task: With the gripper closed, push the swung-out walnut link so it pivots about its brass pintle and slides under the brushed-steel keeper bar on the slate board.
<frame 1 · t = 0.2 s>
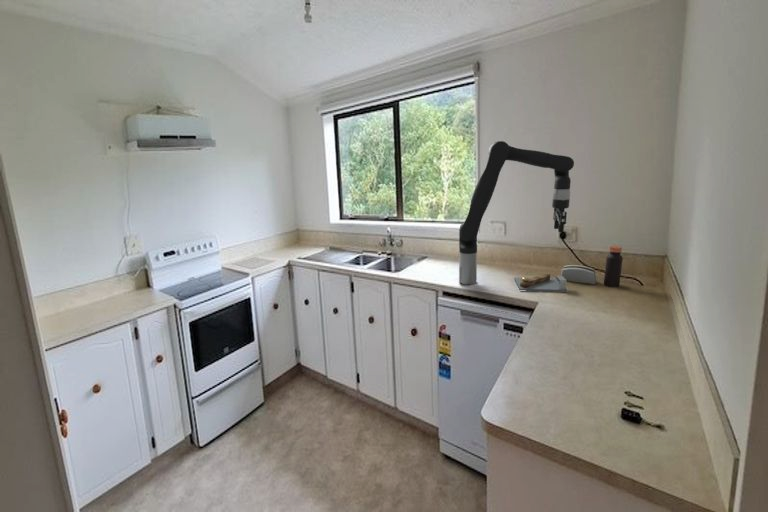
hand: (558, 230, 185), 28 cm above the worktop, fingers open, 8 cm apart
board: (538, 285, 190), on the worktop
link: (535, 280, 190), point 3 cm above the worktop, hinge at 40.0°
keeper: (561, 291, 181), resting on board
bottle: (611, 285, 186), on the worktop
pintle: (524, 288, 187), resting on board
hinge: (577, 281, 194), on the worktop
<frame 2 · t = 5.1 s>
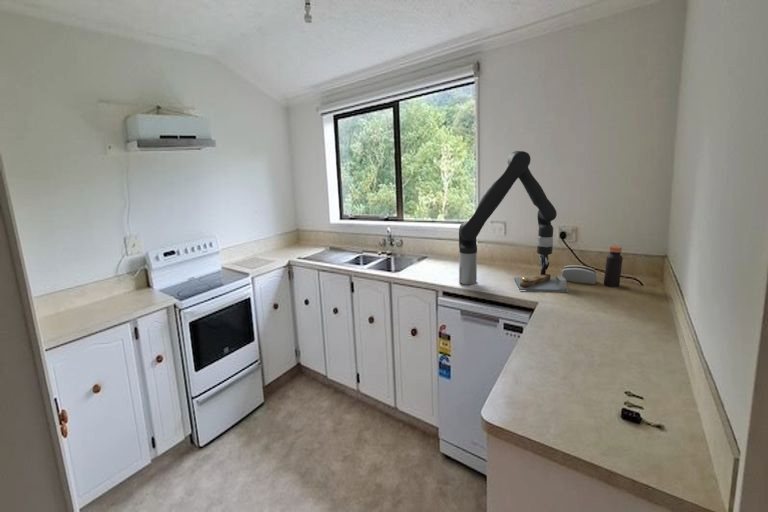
hand: (542, 275, 197), 3 cm above the worktop, fingers closed
link: (535, 280, 190), point 3 cm above the worktop, hinge at 39.2°, touching gripper
everything else where it was.
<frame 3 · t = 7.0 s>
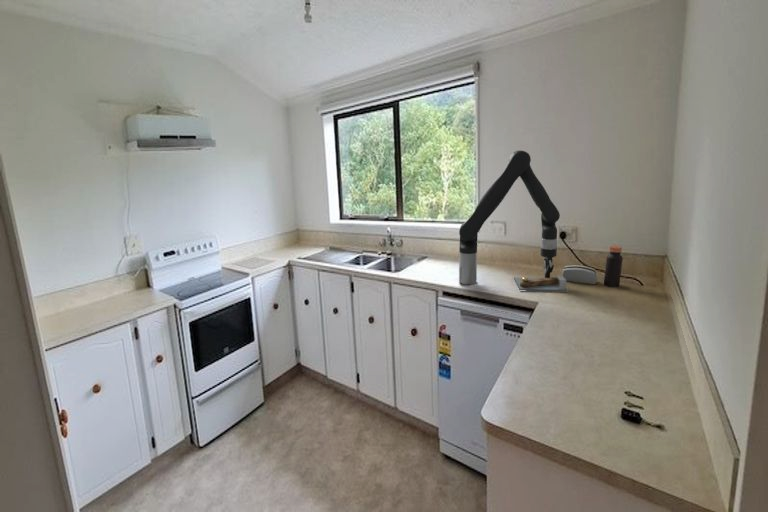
hand: (547, 278, 191), 3 cm above the worktop, fingers closed
link: (539, 282, 188), point 3 cm above the worktop, hinge at 19.1°, touching gripper
everything else where it was.
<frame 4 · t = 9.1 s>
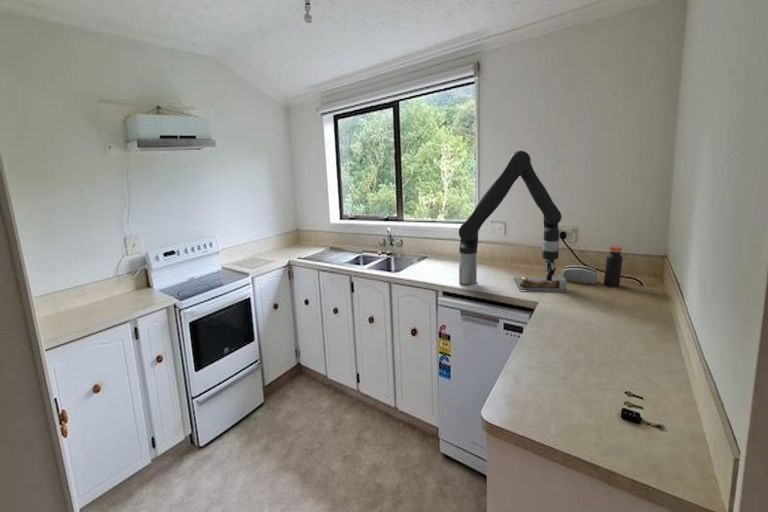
hand: (548, 281, 187), 3 cm above the worktop, fingers closed
link: (541, 283, 185), point 3 cm above the worktop, hinge at 0.6°, touching gripper
everything else where it was.
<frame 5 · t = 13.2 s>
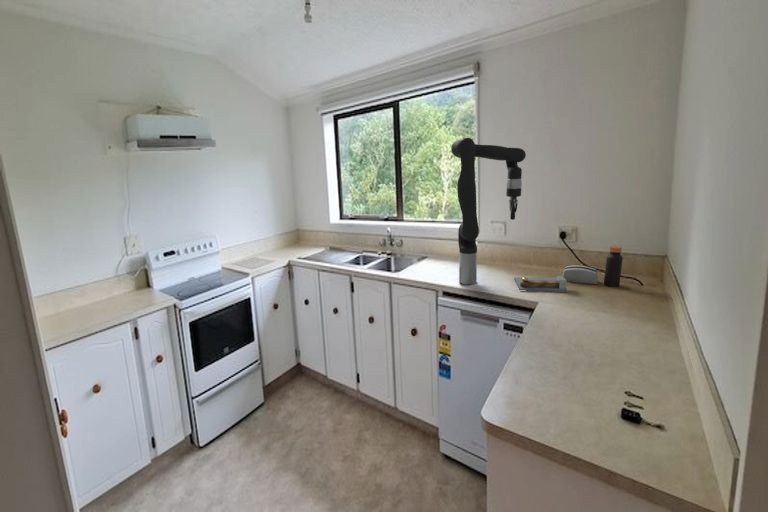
hand: (512, 219, 201), 32 cm above the worktop, fingers closed
link: (541, 283, 185), point 3 cm above the worktop, hinge at 0.3°
everything else where it was.
at the end: link at +0° (first picture: +40°) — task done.
